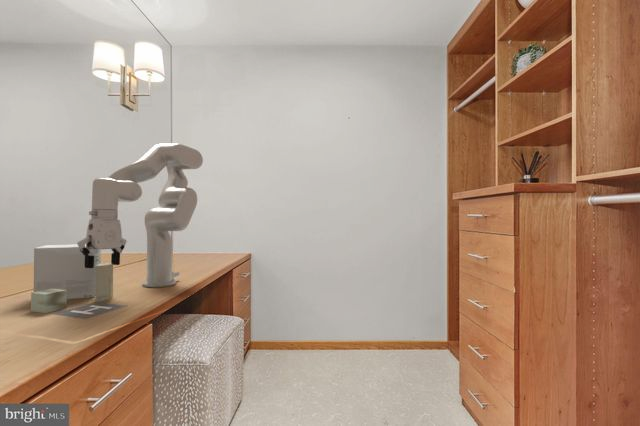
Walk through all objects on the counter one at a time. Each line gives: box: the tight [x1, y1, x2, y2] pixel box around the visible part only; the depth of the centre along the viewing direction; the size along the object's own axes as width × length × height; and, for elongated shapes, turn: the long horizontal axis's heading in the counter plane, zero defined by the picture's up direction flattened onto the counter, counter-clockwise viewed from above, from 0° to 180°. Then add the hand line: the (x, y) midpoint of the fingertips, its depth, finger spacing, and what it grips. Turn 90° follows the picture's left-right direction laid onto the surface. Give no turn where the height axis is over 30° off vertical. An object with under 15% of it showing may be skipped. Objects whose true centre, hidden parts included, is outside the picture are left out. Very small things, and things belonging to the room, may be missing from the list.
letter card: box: [52, 301, 127, 320], centre depth 103 cm, size 14×13×1 cm
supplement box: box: [33, 243, 102, 300], centre depth 121 cm, size 17×13×18 cm
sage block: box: [30, 289, 68, 314], centre depth 103 cm, size 6×6×6 cm
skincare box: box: [95, 262, 114, 302], centre depth 116 cm, size 6×4×12 cm
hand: (102, 266), depth 115 cm, fingers open, 9 cm apart
